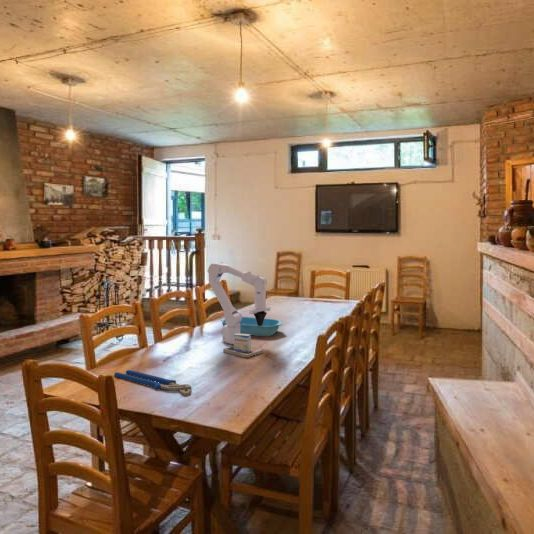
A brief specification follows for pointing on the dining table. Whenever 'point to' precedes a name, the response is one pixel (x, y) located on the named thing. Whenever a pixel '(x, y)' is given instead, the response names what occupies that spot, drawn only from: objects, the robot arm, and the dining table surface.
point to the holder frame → (229, 350)
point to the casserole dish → (251, 327)
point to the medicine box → (242, 342)
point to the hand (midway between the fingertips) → (259, 325)
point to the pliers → (169, 383)
